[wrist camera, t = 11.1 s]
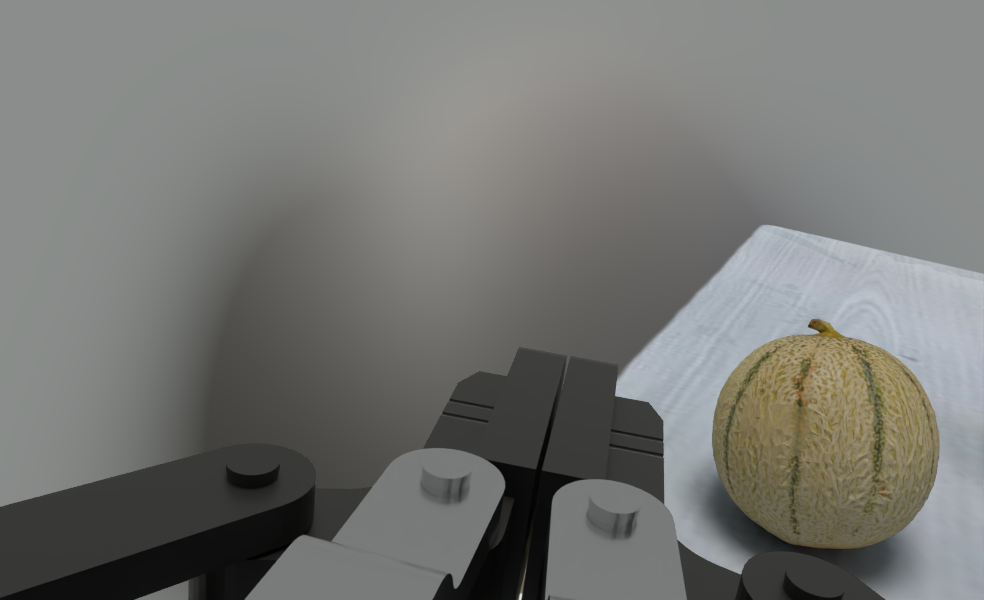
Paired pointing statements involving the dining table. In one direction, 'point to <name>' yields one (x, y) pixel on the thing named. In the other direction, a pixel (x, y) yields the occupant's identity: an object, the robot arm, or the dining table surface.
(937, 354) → the dining table surface
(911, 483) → the cantaloupe
